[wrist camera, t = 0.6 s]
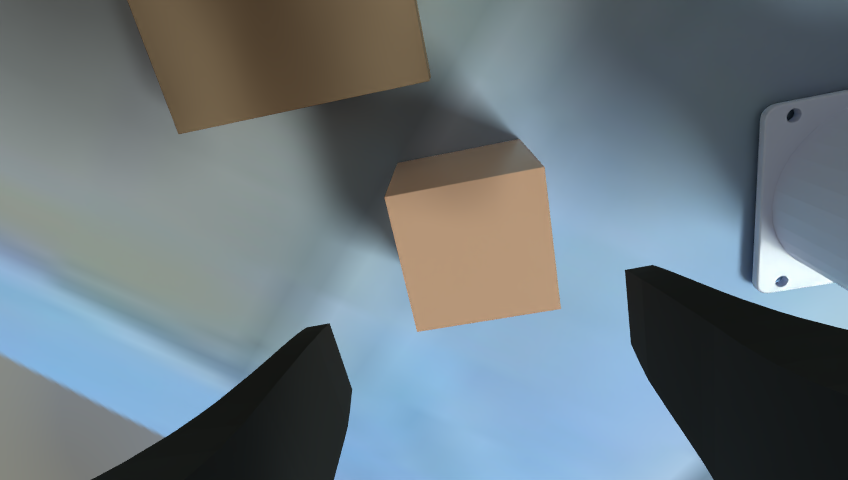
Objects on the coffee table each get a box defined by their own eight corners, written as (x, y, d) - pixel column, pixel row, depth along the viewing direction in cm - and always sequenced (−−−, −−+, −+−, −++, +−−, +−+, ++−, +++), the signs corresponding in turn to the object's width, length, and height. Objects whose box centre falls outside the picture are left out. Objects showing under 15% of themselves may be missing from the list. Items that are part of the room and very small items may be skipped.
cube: (519, 138, 19) (544, 167, 15) (533, 251, 21) (560, 309, 16) (397, 162, 20) (384, 197, 15) (422, 270, 21) (417, 331, 17)
